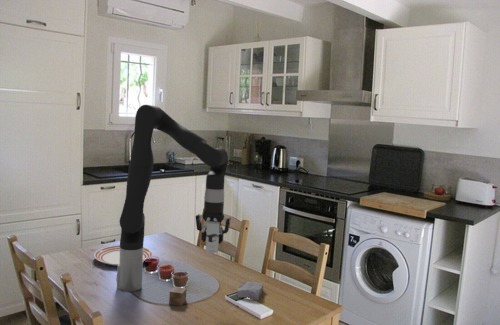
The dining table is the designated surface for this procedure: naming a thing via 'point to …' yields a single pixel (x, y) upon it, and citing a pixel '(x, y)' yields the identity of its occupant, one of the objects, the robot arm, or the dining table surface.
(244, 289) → the stone block
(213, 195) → the robot arm
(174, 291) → the walnut block
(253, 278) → the dining table surface
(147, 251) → the dinner plate
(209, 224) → the ink box
